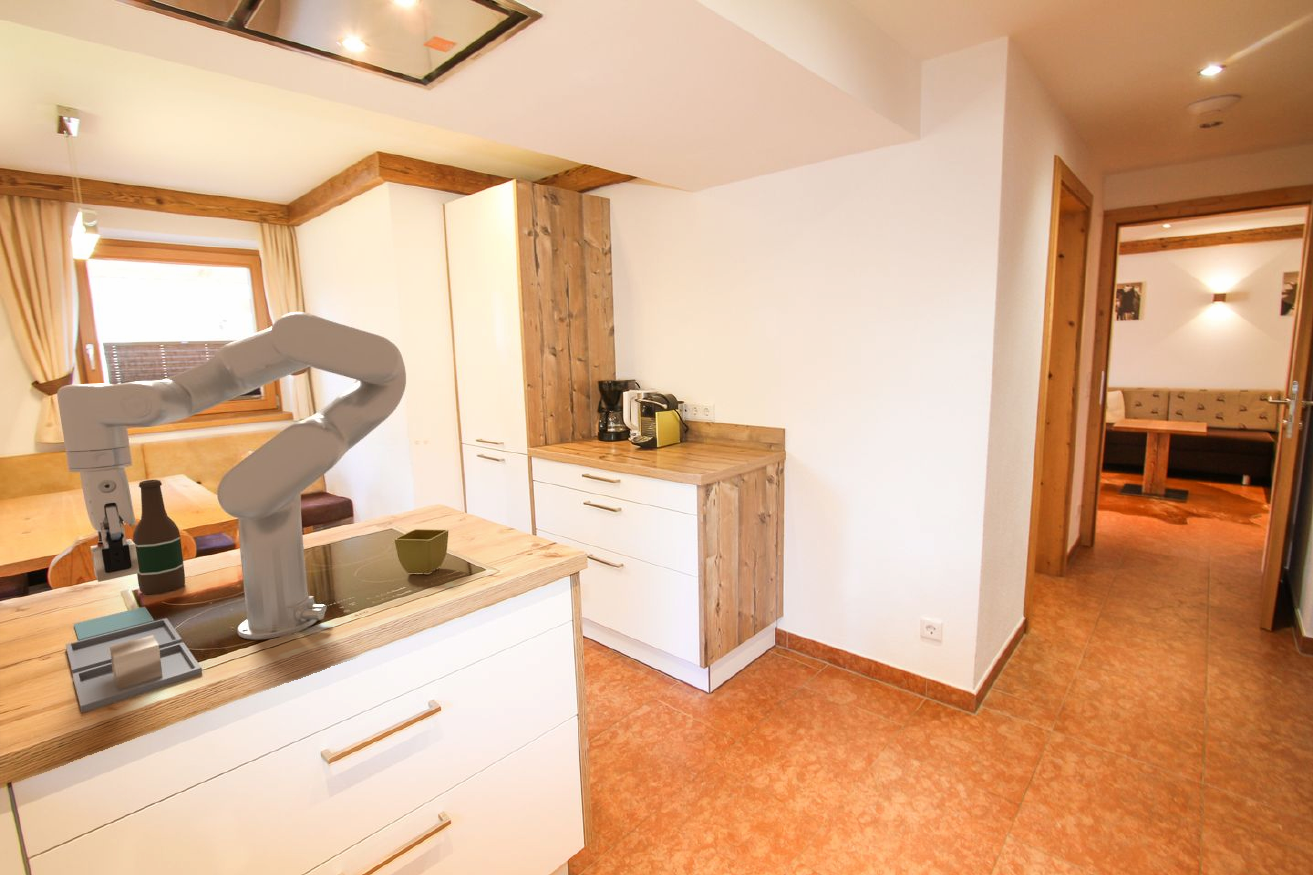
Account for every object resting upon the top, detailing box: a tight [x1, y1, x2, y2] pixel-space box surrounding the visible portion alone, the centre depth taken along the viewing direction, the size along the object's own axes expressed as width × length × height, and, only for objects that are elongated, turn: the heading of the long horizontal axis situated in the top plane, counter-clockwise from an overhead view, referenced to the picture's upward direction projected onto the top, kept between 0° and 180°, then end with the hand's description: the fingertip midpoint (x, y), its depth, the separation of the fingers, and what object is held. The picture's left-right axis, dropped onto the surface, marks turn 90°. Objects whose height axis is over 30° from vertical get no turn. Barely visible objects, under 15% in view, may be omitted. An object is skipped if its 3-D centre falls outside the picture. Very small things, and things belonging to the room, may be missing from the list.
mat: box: [73, 606, 155, 641], centre depth 107 cm, size 10×10×1 cm
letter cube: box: [90, 538, 140, 583], centre depth 96 cm, size 5×5×5 cm
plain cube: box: [110, 635, 163, 690], centre depth 88 cm, size 5×5×5 cm
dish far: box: [65, 617, 183, 675], centre depth 98 cm, size 13×13×1 cm
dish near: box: [72, 641, 203, 714], centre depth 88 cm, size 13×13×1 cm
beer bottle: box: [132, 479, 186, 596], centre depth 124 cm, size 8×8×24 cm
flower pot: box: [394, 528, 449, 574], centre depth 133 cm, size 9×9×9 cm
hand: (116, 565), depth 96 cm, fingers closed on letter cube, 4 cm apart
